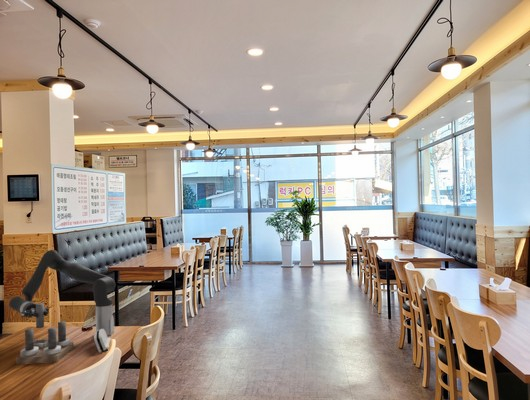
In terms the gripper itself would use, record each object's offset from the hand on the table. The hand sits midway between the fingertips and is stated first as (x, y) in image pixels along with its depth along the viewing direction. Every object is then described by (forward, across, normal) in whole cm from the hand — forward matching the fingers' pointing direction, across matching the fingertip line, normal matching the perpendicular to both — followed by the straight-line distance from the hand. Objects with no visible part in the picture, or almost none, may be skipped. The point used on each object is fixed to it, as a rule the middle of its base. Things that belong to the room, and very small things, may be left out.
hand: (42, 314), depth 197 cm
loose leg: (-3, 0, +7) cm, 8 cm away
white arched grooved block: (+16, +24, +20) cm, 35 cm away
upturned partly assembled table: (+5, 0, +20) cm, 21 cm away
